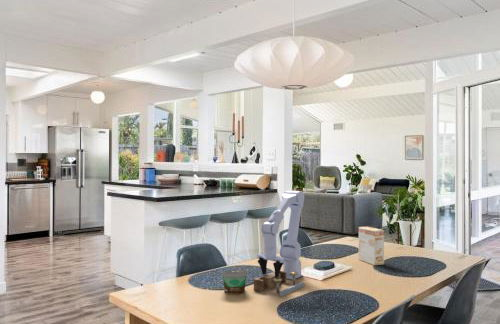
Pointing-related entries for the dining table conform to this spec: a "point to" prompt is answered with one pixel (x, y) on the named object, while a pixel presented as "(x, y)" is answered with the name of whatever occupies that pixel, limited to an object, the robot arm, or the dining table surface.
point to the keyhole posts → (281, 280)
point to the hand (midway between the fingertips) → (270, 275)
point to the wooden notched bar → (268, 281)
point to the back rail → (291, 288)
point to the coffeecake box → (371, 245)
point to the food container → (234, 281)
